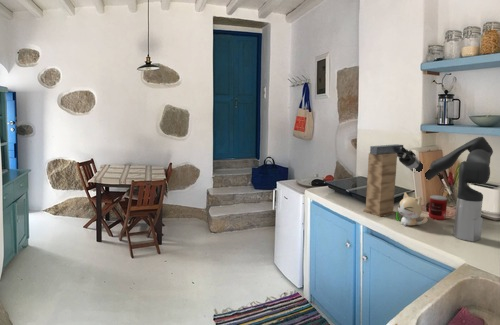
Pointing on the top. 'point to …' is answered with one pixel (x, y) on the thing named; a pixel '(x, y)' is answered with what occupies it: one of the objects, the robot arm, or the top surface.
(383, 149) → the block
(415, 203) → the kitten
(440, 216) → the canned food
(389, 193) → the stand
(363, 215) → the top surface
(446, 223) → the top surface
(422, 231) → the top surface
